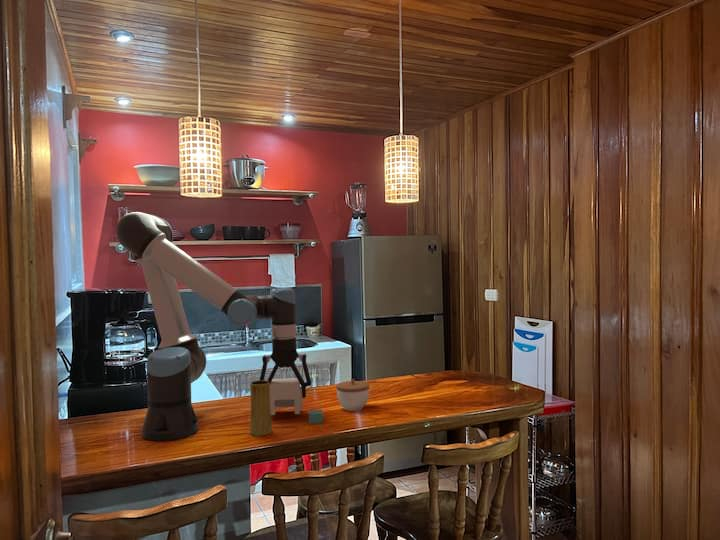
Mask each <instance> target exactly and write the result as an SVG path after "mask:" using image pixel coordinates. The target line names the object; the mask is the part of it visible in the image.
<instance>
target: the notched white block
mask: <svg viewBox="0 0 720 540" xmlns="http://www.w3.org/2000/svg"><path fill="white" fill-rule="evenodd" d="M269 386H270V410H271V416H275V415H276V408H294V415H300V413H301V409H300V387H301V385H300V383H299V381H298V379H297V377H292V378H290V377H289V378H273V379H272V381H271V383H270V385H269Z"/></svg>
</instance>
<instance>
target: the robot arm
mask: <svg viewBox="0 0 720 540" xmlns="http://www.w3.org/2000/svg"><path fill="white" fill-rule="evenodd" d="M115 236H116V239H117V241H118V243H119V244H120V245H121V246H122V247H123V248H124V249H125V250H127V251H128V252H130V253H131V254H132V256H133V258H134V262H135V263H137V264H138V265H139V266H141V268H142V272H143V276H144V280H145V282H146V283H145V284H146V286H147V290H148V295H149V298H150V301H151V306H152V310H153V312H154V317H155V320H156V324H157V327H158V332H159V335H160V339H161V342H160V344H159V346H157V349H156V350H154V351H151V353H150V354H148V356H147V359H146V360H147V361H146V362H147V363H146V375H147V376H146V377H147V379H146V380H147V381H146V382H147V384H146V385H147V411H146V414H145V417H144V420H143V423H142V426H141V436H142V438H143V439H145V440H148V441H154V442H158V441H159V442H164V441H165V442H166V441H172V440H173V441H174V440H179V439H183V438H186V437H189V436H192V435H193V434H195V433H197V432H198V431H199V421H198V417H197V414H196V412H195V409H194V407H193V403H192V384H193V383H194V382H195V381H197V380H199V379H200V377H201V376H202V375H203V373H204V371H205V369H206V366H207V355H206V353H205V351H204V350H203V348H202V347H200V345H199V340H198V337H197V336H196V335H194V334H193V333H191V331H190V328H189V327H190V326H189V324H188V320H187V316H186V313H185V309H184V306H183V300H182V298H181V294H180V290H179V285H178V282H179V283H181V284H182V285H183V286H185V287H187V288H188V290H190V291H192V292H193V293H195V294H196V295H198V296H199V297H201V298H202V299H203V300H204V301H206V302H208V303H209V304H211V305H212V306H213V307H214V308H216V309H218V310H219V311H221V312H222V313H223V314H224V315H225V316H227V317H228V319H229V321H230V322H231V323H232V324H234V325H236V326H239V327H241V326H242V327H243V326H248V325H250V324H252V323H253V322H254V321H255V320H269V319H270V320H271V337H272V342H271V344H272V345H271V347H272V348H271V350H272V352H271V354H269V355H267V354H264V355H262V367H261V372H260V377H259V380H265V377H266V372H267V368H268V363H270V361H271V360H272V361H273V363H274V366H273V368H272V371H271V372H270V374H269V376H268V378H267V380H266V381H269V385H270V383H271V381H272V379H274V377H275V374H276V372H277V371H278V369H279V368H290V369H291V370H292V372H293V373H294V375H295V378H297V379H298V381H299V383H300V410H303V399H305V398H306V397H307V392H306V391H307V390H306V388H307V387H310V386H311V385H312V380H311V377H310V372H309V368H308V364H307V354H306V353H303V354H302V353H298V351H297V337H296V336H297V321H296V320H297V317H296V316H297V314H296V313H297V312H296V311H297V310H296V309H297V304H296V291H295V290H294V289H293V288H290V287H281V288H272V289H271V290H270V294H266V295H265V294H264V295H263V294H261V295H260V294H259V295H258V294H257V295H253V294H252V295H251V294H250V295H249V294H247V295H246V294H244V293H242V292H240V291H239V290H237V289H236V288H235V287H234V286H232V285H231V284H229V283H228V282H226V281H225V280H224V279H223V278H221V277H220V276H218V275H217V274H215V273H214V272H212V271H211V270H210V269H208V268H207V267H206V266H204V265H203V264H202V263H200V262H198V261H197V260H196V259H194V258H193V257H192V256H190V255H189V254H187V253H186V252H185V251H183V250H182V249H180V248H179V247H178V246H176V245H175V244H174V243H173V240H174V232H173V229H172V226H171V225H170V224H169V222H168V221H167V220H165V219H164V218H162V217H160V216H158V215H157V214H156V215H155V214H148V213H145V212H141V211H136V212H135V211H133V212H129V213H127V214H124V215H123V216H122V217H121V218H120V219H119V220H118V222H117V224H116V227H115ZM177 281H178V282H177ZM297 359H299V362H301V363H302V364H301V365H302V368H303V372H304V376H305V380H304V379H303V376H302V375H301V372H300V371H299V369H298V366H297V365H296V363H295V362H296V360H297Z"/></svg>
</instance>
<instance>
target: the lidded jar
mask: <svg viewBox="0 0 720 540" xmlns="http://www.w3.org/2000/svg"><path fill="white" fill-rule="evenodd" d="M335 387H336V397H337V400H338V403H339V404H340V406H341V408H343V410H345V411H349V412H356V411H360V410H361V411H362V409H363V407H365V406H366V404H367V402H368V399H369V396H370V395H369V394H370V384H369V383H368V382H365V381H361V380H355V379H353V378H352V379H351V380H346V381H341V382H338V383H337V384H336V386H335Z"/></svg>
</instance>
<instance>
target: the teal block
mask: <svg viewBox="0 0 720 540" xmlns="http://www.w3.org/2000/svg"><path fill="white" fill-rule="evenodd" d="M323 416H324V413H323V410H322V409H313V410H311V409H310V410H308V423H309V424H310V425H313V424H312V423H314V424H324V417H323Z"/></svg>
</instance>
